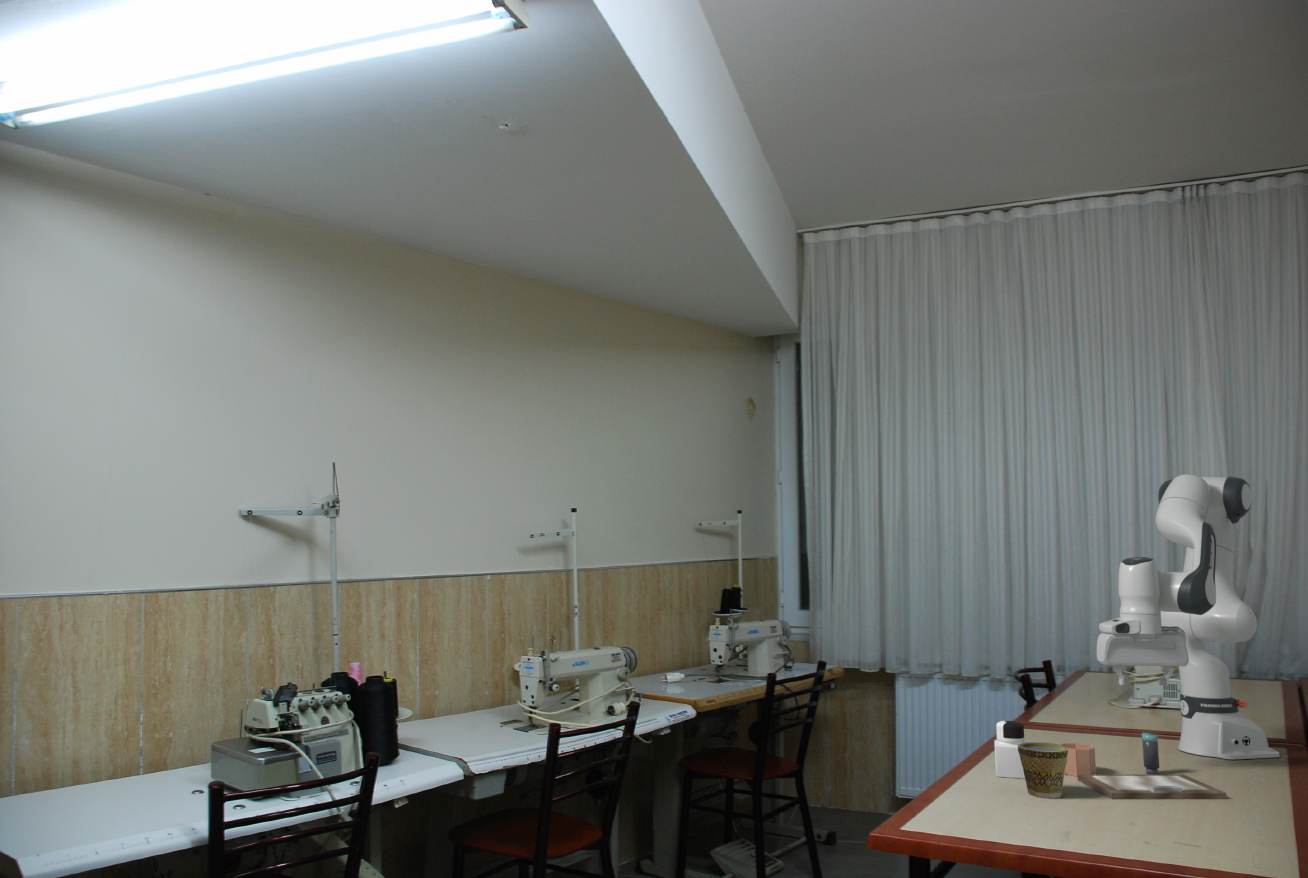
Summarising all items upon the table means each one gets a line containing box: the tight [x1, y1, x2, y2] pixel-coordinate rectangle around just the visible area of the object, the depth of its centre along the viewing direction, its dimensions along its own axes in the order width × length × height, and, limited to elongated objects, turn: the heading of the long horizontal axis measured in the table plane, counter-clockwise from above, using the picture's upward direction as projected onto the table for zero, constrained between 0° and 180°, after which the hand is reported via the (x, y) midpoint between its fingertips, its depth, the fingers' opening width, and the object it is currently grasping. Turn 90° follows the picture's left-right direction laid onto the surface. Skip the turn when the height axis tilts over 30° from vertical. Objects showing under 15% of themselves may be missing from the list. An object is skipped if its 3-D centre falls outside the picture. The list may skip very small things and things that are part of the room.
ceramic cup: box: [1018, 741, 1068, 800], centre depth 200 cm, size 13×10×10 cm
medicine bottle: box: [994, 720, 1026, 780], centre depth 216 cm, size 7×7×12 cm
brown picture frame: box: [1077, 773, 1227, 800], centre depth 202 cm, size 24×16×2 cm, turn 90°
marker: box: [1141, 732, 1160, 775], centre depth 217 cm, size 3×3×9 cm
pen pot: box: [1058, 742, 1097, 777], centre depth 218 cm, size 8×8×6 cm
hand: (1143, 685), depth 219 cm, fingers open, 8 cm apart
